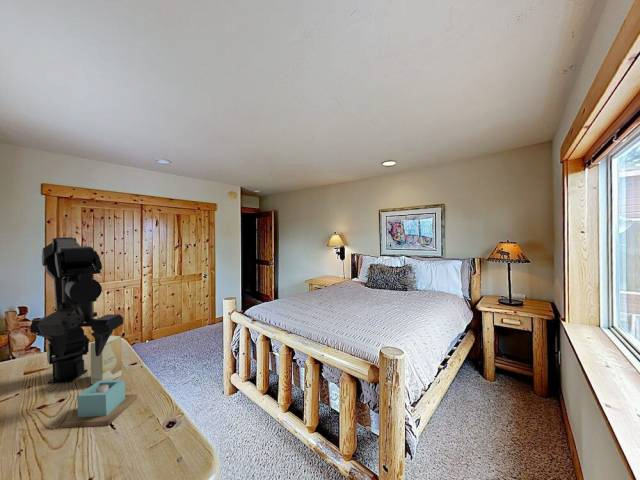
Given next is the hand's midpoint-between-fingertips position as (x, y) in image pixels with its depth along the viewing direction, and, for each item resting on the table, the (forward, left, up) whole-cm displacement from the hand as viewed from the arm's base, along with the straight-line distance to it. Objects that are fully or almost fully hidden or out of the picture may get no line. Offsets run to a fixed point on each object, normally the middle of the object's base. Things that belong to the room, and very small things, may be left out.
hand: (79, 355), depth 68 cm
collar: (+8, -4, -11) cm, 15 cm away
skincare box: (-2, +11, -13) cm, 17 cm away
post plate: (+8, -4, -12) cm, 15 cm away
